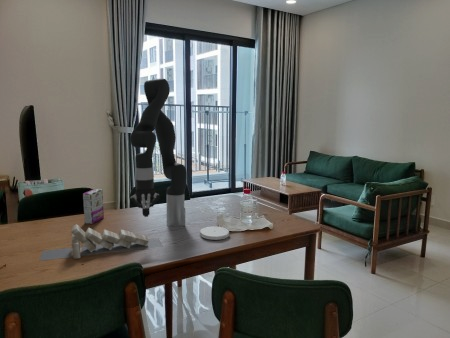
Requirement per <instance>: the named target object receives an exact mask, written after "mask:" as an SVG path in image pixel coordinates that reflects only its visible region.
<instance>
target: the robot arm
mask: <svg viewBox="0 0 450 338" xmlns="http://www.w3.org/2000/svg"><path fill="white" fill-rule="evenodd" d="M170 89H171V88H170V84H169V82H168V80H167V79H166V78H155V79H150V80H149V79H148V80H146V81H144V83H143V90H144V95H145V98H146V100H147V104H148V105H147V106H146V107H145V108H144V109H143V112H142V114H141V116H140V119H139V122H138V124H137V125H136V126H135V128H134V129H133V130H132V131H131V134H130V137H129V142H130V144H131V147H134V148H137V149H138V148H139V149H142V148H146V149H145V151H144V152H140V153H136V155H135V171H134V172H135V173H134V174H135V192H134V194H133V195H131V196H130V200H131V201H132V202H133V203H134V204H135V206H137V207H138V208H139V209H142V210H141V211H142V216H144V218H147V217H149V215H150V209H151V207H154V206H155V205H156V203H157V202H158V201H159V199H160V197H161V195H160V194H159V193H157V192H156V191H155V179H154V177H155V175H154V170H153V169H154V168H153V167H154V166H153V156H154V149H155V145H156V143H158V147H159V152H160V155H161V157H160V158H161V164H162V165H161V166H162V170H163V175H164V177H165V178H166V179H168V180H170V186H168V187H167V188H166V227H181V226H183V227H186V207H185V190H186V188H187V176H188V175H187V174H188V173H187V168H186V166H185V164H183V163H179V162H178V163H177V161H176V158H175V152H174V151H175V144H176V139H177V138H176V132H175V127H174V124H173V122H172V120H171V119H170V118H169V117H168V116H167V115H166V114H165V112H164V111H163V108H164V106H165V104H166V102H167V100H168V99H169V96H170ZM152 198H153V199H152ZM137 199H138V200H139V201H140V202H141V203H140V202H139V201H138V200H137Z"/></svg>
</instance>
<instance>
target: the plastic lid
mask: <svg viewBox="0 0 450 338" xmlns="http://www.w3.org/2000/svg"><path fill="white" fill-rule="evenodd" d="M199 232H200V233H199V235H200V237H202V238H204V239H207V240H212V241H213V240H217V241H218V240H224V239H227V238H228V237H229V236H230V231H229V229H227V228H225V227H223V226H207V227H203V228H201V229H200V231H199Z"/></svg>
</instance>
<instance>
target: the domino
mask: <svg viewBox="0 0 450 338" xmlns="http://www.w3.org/2000/svg"><path fill="white" fill-rule="evenodd" d="M71 234H72V233H71ZM80 247H81V242H80V241H79V240H78V239H77V238H76V237H75V236H74V235H73V234H72V235H71V248H72V250H73V257H72V258H73V260H77V259H81V256H80Z"/></svg>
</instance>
